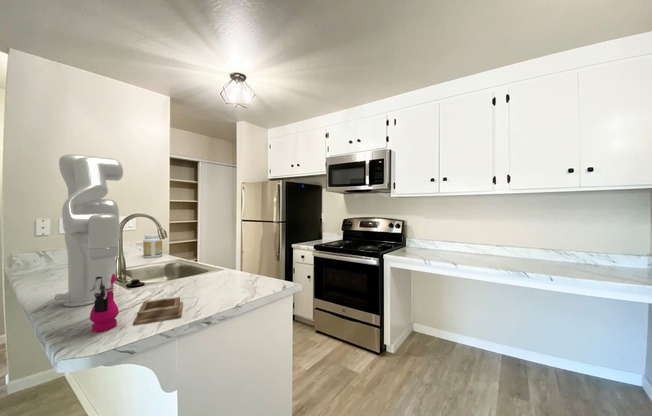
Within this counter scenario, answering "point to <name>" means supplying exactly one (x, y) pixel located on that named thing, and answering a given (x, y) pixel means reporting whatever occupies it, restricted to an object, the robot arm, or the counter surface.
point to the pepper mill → (107, 318)
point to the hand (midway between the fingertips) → (104, 307)
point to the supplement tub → (152, 246)
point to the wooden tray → (159, 310)
